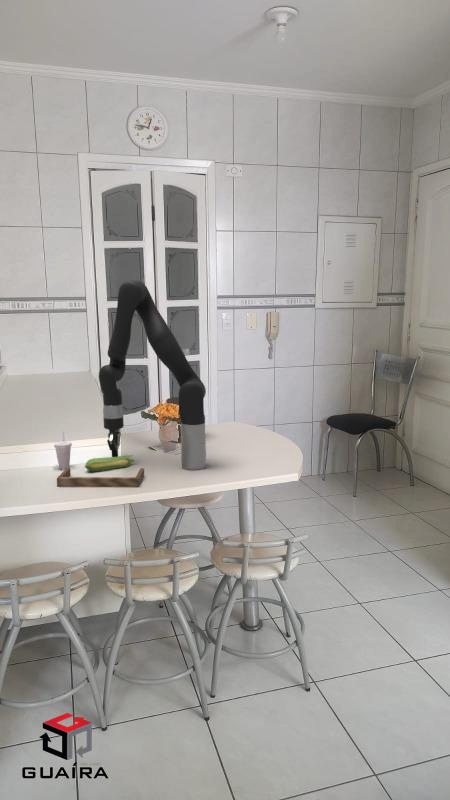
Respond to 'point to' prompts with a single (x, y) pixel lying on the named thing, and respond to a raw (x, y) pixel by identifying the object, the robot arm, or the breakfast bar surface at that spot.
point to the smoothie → (63, 453)
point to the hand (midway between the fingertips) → (115, 459)
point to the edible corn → (108, 463)
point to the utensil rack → (98, 480)
